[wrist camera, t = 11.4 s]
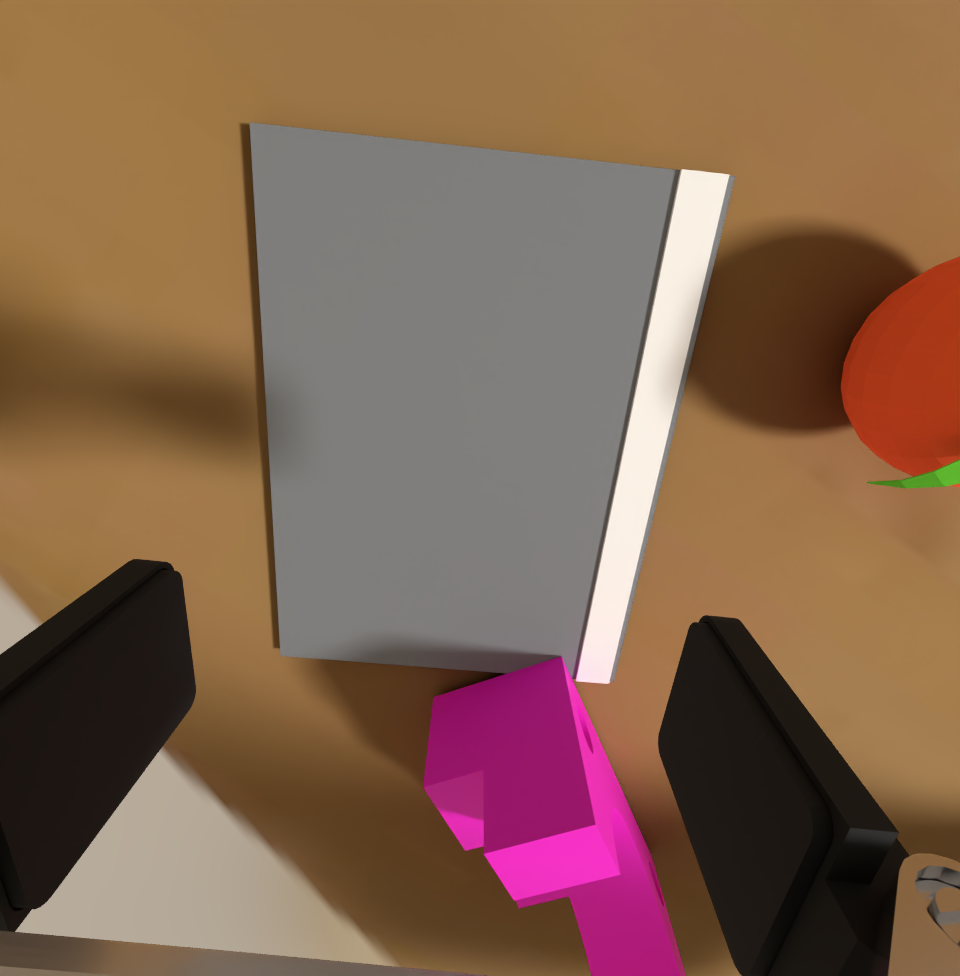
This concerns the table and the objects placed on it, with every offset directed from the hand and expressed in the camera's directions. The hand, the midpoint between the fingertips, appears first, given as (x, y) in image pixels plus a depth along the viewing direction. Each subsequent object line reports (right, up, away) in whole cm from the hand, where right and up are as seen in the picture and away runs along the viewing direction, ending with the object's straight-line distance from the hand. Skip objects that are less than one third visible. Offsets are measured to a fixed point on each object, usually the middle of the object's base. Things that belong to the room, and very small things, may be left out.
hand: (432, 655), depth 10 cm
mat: (0, +4, +10) cm, 11 cm away
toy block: (+5, -12, +17) cm, 21 cm away
